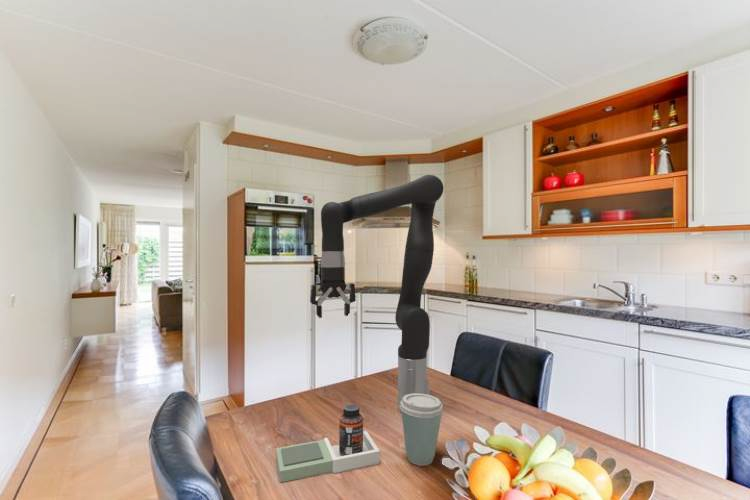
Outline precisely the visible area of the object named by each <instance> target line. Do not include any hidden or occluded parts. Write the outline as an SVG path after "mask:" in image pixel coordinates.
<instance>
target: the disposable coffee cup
mask: <svg viewBox="0 0 750 500" xmlns="http://www.w3.org/2000/svg"><path fill="white" fill-rule="evenodd" d="M399 406H400V408H401V412H400V413H401V419H402V429H403V437H404V445H405V453H406V456H407V459H408V461H409V462H410V463H411V464H412V465H416V466H419V467H421V466H429V465H430V464H432V463H433V461H434V459H435V456H436V449H437V445H438V438H439V432H440V428H441V427H440V426H441V421H442V414H443V411H444V405H443V403H442V401H441V400H440V399H439V398H437V397H436V396H433V395H431V394H430V395H427V394H418V393H413V394H408V395H405V396H404V397H403V398H402V401H401V402H400V405H399Z"/></svg>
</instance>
